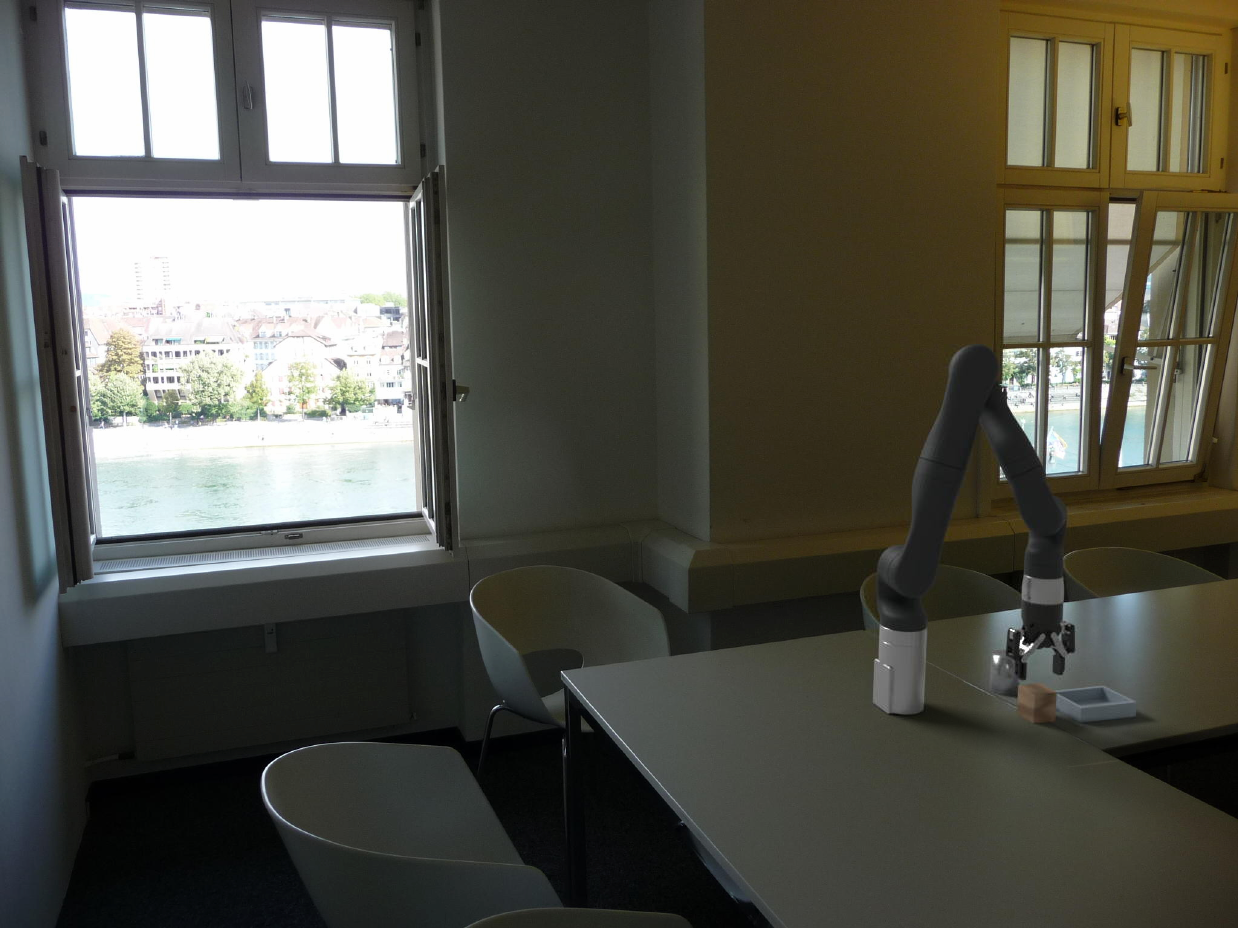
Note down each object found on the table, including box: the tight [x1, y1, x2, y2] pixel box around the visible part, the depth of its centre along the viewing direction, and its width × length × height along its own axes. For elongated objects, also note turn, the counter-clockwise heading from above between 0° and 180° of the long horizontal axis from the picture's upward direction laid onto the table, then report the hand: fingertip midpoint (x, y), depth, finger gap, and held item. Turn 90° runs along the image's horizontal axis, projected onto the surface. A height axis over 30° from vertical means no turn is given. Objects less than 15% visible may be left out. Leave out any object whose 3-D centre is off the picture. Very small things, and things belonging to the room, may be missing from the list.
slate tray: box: [1055, 685, 1138, 724], centre depth 192 cm, size 13×9×3 cm
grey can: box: [989, 649, 1022, 697], centre depth 203 cm, size 6×6×8 cm
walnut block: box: [1016, 682, 1057, 725], centre depth 189 cm, size 5×5×6 cm
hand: (1039, 676), depth 188 cm, fingers open, 8 cm apart
